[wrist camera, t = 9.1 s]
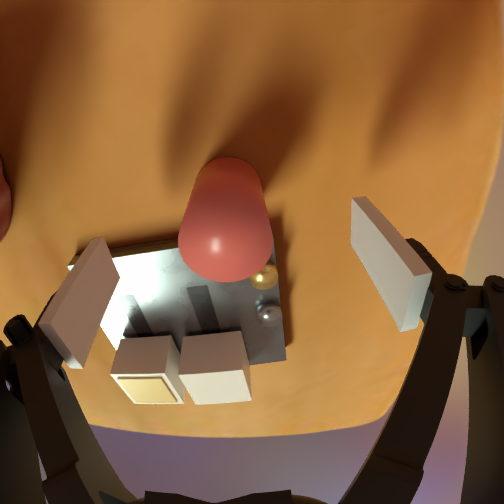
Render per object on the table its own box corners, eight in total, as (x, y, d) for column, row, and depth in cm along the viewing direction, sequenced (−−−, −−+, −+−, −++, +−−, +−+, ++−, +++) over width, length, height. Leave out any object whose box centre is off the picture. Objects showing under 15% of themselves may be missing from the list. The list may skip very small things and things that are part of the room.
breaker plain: (183, 336, 25) (178, 374, 22) (240, 330, 25) (242, 369, 21) (198, 369, 28) (195, 404, 24) (249, 364, 27) (251, 400, 24)
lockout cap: (188, 163, 19) (167, 210, 13) (256, 152, 19) (267, 193, 13) (202, 222, 21) (191, 287, 15) (264, 213, 21) (277, 275, 15)
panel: (74, 255, 22) (63, 272, 20) (270, 223, 21) (274, 240, 20) (134, 361, 30) (130, 378, 28) (284, 348, 29) (287, 366, 27)
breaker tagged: (120, 338, 25) (109, 375, 21) (170, 335, 25) (164, 375, 21) (141, 370, 28) (134, 405, 24) (187, 368, 27) (184, 405, 24)
